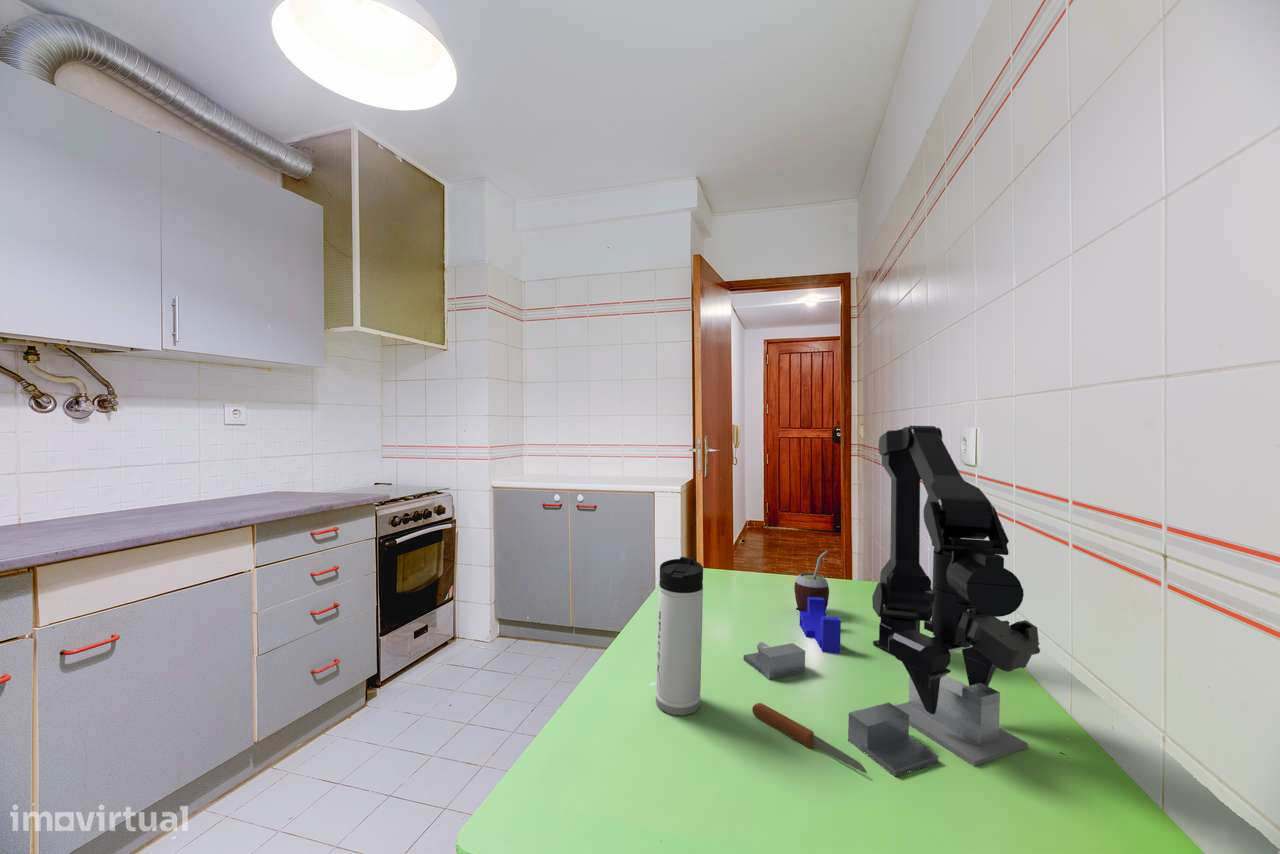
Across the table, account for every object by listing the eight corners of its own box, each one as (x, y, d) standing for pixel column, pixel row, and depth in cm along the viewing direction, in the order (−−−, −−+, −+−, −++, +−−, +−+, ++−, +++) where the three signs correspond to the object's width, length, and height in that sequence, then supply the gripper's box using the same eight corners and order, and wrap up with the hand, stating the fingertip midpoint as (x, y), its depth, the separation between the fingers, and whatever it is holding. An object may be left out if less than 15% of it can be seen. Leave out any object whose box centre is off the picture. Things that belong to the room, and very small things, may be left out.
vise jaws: (777, 653, 86) (777, 633, 86) (938, 762, 59) (938, 733, 59) (743, 659, 84) (744, 639, 84) (895, 777, 56) (896, 746, 56)
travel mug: (704, 695, 72) (708, 559, 72) (694, 720, 66) (698, 571, 66) (663, 687, 74) (667, 554, 74) (650, 710, 68) (653, 565, 68)
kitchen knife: (750, 717, 67) (751, 702, 67) (757, 713, 68) (757, 699, 68) (863, 783, 55) (864, 765, 55) (869, 778, 56) (870, 760, 56)
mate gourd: (799, 605, 111) (801, 538, 111) (836, 613, 107) (838, 544, 107) (788, 614, 105) (790, 544, 105) (826, 624, 100) (828, 550, 101)
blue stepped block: (799, 626, 100) (800, 596, 100) (822, 627, 99) (823, 597, 99) (813, 652, 88) (814, 618, 88) (840, 654, 87) (840, 620, 87)
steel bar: (926, 700, 71) (927, 657, 71) (998, 741, 62) (999, 692, 62) (908, 704, 70) (909, 661, 70) (980, 747, 61) (981, 697, 61)
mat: (937, 698, 73) (937, 694, 73) (1027, 747, 62) (1027, 742, 62) (888, 711, 69) (888, 707, 69) (974, 766, 58) (974, 761, 58)
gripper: (971, 620, 55) (967, 760, 55) (1070, 601, 62) (1067, 725, 62) (886, 588, 65) (883, 707, 65) (979, 575, 72) (977, 682, 72)
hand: (954, 705), depth 66 cm, fingers open, 9 cm apart
